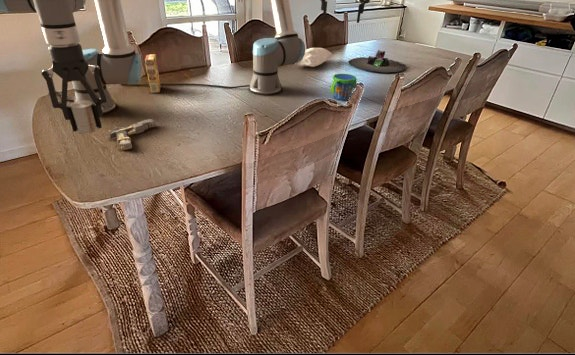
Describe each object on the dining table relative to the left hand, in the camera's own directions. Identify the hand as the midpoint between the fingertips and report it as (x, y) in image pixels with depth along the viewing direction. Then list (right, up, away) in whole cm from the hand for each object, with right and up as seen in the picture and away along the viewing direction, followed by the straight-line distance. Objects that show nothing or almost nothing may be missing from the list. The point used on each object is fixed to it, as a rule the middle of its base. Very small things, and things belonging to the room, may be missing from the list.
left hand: (87, 127), depth 104 cm
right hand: (+79, +48, +40) cm, 101 cm away
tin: (0, 0, 0) cm, 0 cm away
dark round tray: (+112, +54, +118) cm, 172 cm away
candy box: (-5, +27, +68) cm, 73 cm away
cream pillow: (+69, +54, +115) cm, 144 cm away
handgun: (+3, 0, +27) cm, 27 cm away
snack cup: (+84, +23, +68) cm, 110 cm away
